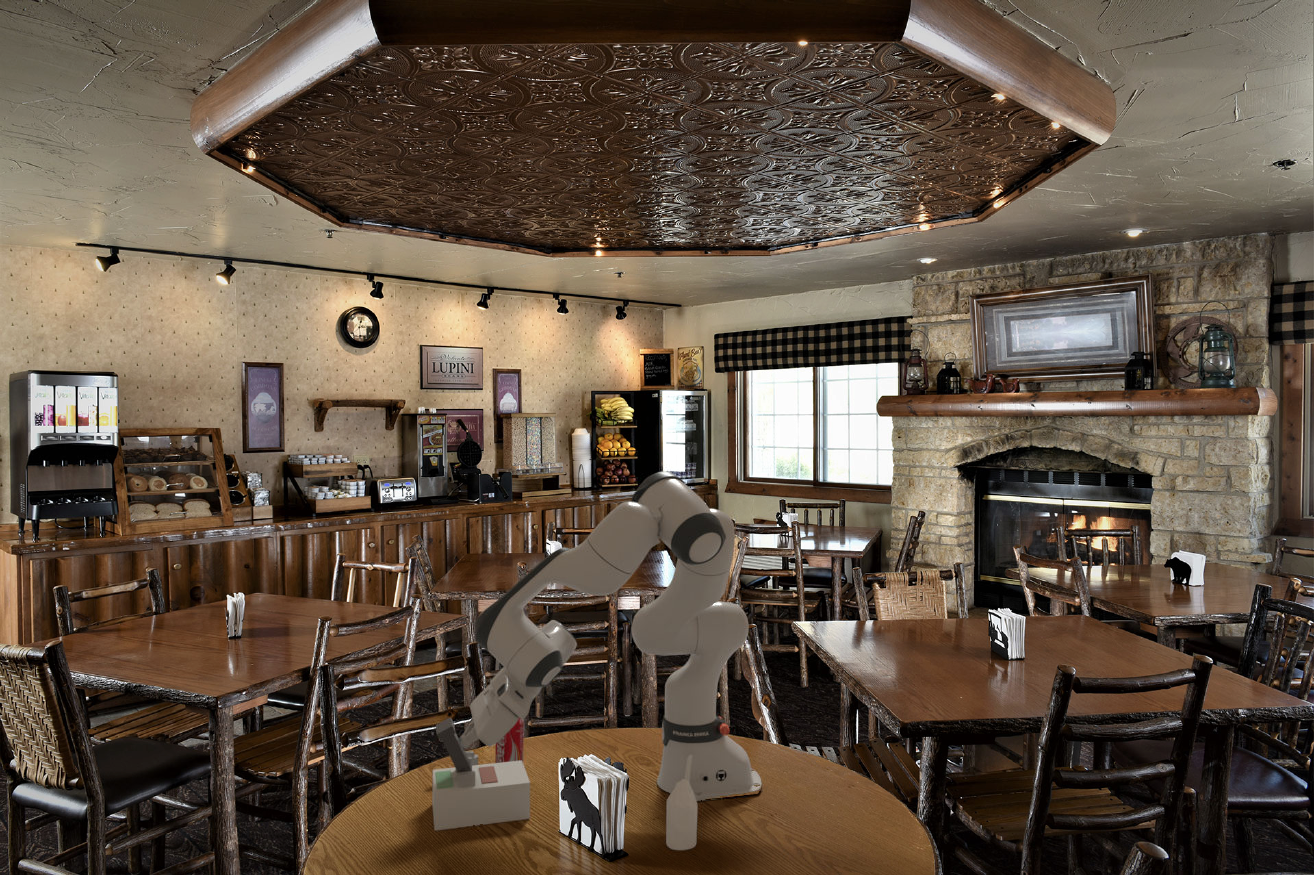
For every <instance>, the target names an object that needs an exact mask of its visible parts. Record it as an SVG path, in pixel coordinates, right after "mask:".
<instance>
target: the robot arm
mask: <svg viewBox="0 0 1314 875" xmlns="http://www.w3.org/2000/svg"><path fill="white" fill-rule="evenodd" d="M735 536H736V534H735V525H734V522H733V520H732V518H731V517H730V516H729V515H728V514H727V513H726V512H724V511H722V510H719V509H717V508H711V507H709V506H708V505H707V504H706V502H705V501H704V499H703V498H702V497H700V496H699V495H698V494H697V493H696V492H695V491H694V490H693V489H691V487H689V486H688V485H687V484H686V483H685V481H684V480H683V479H682V478H680V477H679V476H678V475H676V474H674V473H672V472H670V471H658V472H655V473H653V474H651V475H649V476H647V477H646V478H645V479H644V480H643V481H642V482H641V483H640V485H638V487H637V489H636V491H634V493H633V494H632V497H631V499H630V501H625V502H622V503H620V504H619V505H617V506H616V507H615V508H614V509H613V510H611V511H610V512H609V513H608V514H607V515H606V516H605V517H604V518H602V520H601V521H600V522H599V523H598V524H597V525H596V527H595V528H594V529H593V530H592V531H591V532H590V533H589V535H588V536H587V537H586V538H585V540H583V542H582V543H580V544H579V545H577V546H574V547H572V548H569V547H566V546H564V547H561V548H557V550H555V551H553V552H552V553H549V555H547V556H546V557H545V558H544V559H542V560H541V561H540V562H539V563H538V564H537V565H535V566H534V567H533V568H531V570H529V571H528V573H526V574H525V575H524V576H523V577H522V578H521V579H520V580H519V581H518V582H516V584H514V585H513V586H512V587H511V588H510V589H509V590H508V591H506V592H505V593H504V594H503V595H502V596H501V597H499V598H498V599H497V600H496V601H494V602H493V603H491V605H489V606H487V607H486V608H484V610H482V611H481V613H480V614H479V615H478V617H477V618H476V620H475V621H474V639H475V642H476V643H477V644H478V645H479V646H480V647H482V649H484V650H486V651H487V652H488V653H490V654H491V655H492V656H493V657H494V658H495V659H496V660H497V661H498V662H499V663H500V664H501V666H503V667H502V668H501V669H500V670H499V671H498V672H497V673H496V674H495V676H493V677H492V678H491V680H490V681H489V684H488V685H487V686H486V687H485V688H484V689H483V690H482V691H481V692H480V693H479V694H478V695H477V696H476V697H475V699H473V701H472V702H471V704H470V705H469V707H470V712H471V716H472V720H471V721H470V723H469V724H468V725H467V727H466V729H465V731H464V732H463V733H462V734H461V735H460V736H459V737H458V738H459V740H460V745H461V746H462V747H463V749H464V750H466V749H468V748H469V747H470V746H471V745H472V744H473V743H475V742H476V741H479V740H480V741H481V743H483V744H484V745H486V746H487V747H489V748H491V747H493V746H496V743H497V742H498V741H499V740H500V739H501V738H502V737H504V736H505V735H506V734H507V733H508V731H509V730H510V729H511V728H512V727H513V726H514V725H515V724H516V723H517V721H518V717H519V718H520V719H523V720H524V719H525V718H526V717H527V716H528V714H529V713H530V709H531V705H532V702H533V701H534V699H535V698H536V697H537V696H538V695H539V693H540V692H541V690H542V688H546V687H548V686H549V685H551V683H552V682H553V681H554V680H555V679H556V678H557V676H559V674H561V672H562V671H563V666H564V665H565V664H566V663H567V662H568V660H569V659H570V657H571V656H572V654H573V653H574V651H575V650H576V649H577V646H578V643H577V640H576V638H575V637H574V635H573V634H572V633H571V631H570V630H569V629H567V627H566V626H564V625H563V624H562V623H561V622H560V621H558V620H555V619H551V620H550V621H549V622H547V623H545V625H543V626H542V627H541V628H539V627H538V626H536V624H535V623H534V622H533V621H531V619H530V618H528V616H527V615H526V614H525V610H524V607H525V606H526V605H528V604H529V603H530V602H531V601H532V600H533V599H534V598H535V597H536V596H537V595H538V594H540V593H541V592H542V591H544V589H545V588H546V587H548V586H549V585H550V584H559V585H562V586H565V587H567V588H570V589H572V590H575V591H577V592H580V593H582V594H585V595H590V596H595V597H596V596H598V597H602V596H608V595H611V594H614V593H616V592H617V591H618V590H620V589H621V588H622V587H623V586H624V585H625V584H626V583H627V582H628V581H629V580H630V579H631V577H632V575H633V574H634V573H635V572H636V571H637V570H638V568H639V566H640V565H641V564H642V563H643V561H644V560H645V558H646V557H647V555H648V553H649V552H650V550H651V549H652V548H653V547H655V546H656V545H658V544H660V543H661V542H663V543H664V544H665V545H666V546H667V547H668V548H669V549H670V550H671V552H672V553H673V554H672V555H674V556H675V557H676V558H677V559H676V560H677V561H676V564H675V569H674V573H673V576H672V579H671V581H670V582H669V584H668V586H667V587H666V589H665V590H664V591H663V592H662V593H661V594H660V595H659V596H658V597H656V599H654V600H653V601H652V602H650V603H649V604H646V605H644V606H643V607H640V609H639V610H637V612H636V613H635V616H634V617H633V620H632V624H631V635H632V639H633V642H634V643H635V645H636V647H637V648H638V649H639V651H640V652H642V653H643V654H644V653H645V654H650V655H655V656H656V655H657V656H678V655H682V656H683V655H690V656H689V658H688V661H686V663H685V664H684V665H683V666H682V667H680V668H679V669H677V670H675V671H674V672H673V673H671V674H670V676H669V677H668V678H667V680H666V682H665V685H664V715H663V717H662V724H661V725H662V726H661V735H662V736H661V737H662V738H661V741H662V744H663V751H662V757H661V764H660V768H659V773H658V777H657V780H656V784H657V785H658V787H659V788H660V789H661V790H663V791H665V792H667V793H669V794H671V793H672V791H673V790H674V788H675V786H676V784H677V783H678V782H679V781H681V780H682V779H685V780H688V781H689V782H690V786H691V788H692V790H693V792H694V795H695V798H696V801H697V802H699V801H700V802H701V800H702V801H706V800H705V799H708V798H716V797H720V796H729V795H733V794H743V793H748V792H755V791H757V790H759V789H760V788H761V785H762V786H763V784H762V783H763V782H761V781H762V779H761V776H760V774H759V773H758V772H757V771H756V770H755V769H754V768H752V765H751V762H750V758H749V755H748V753H747V752H746V751H745V749H744V748H743V747H742V746H741V745H740V744H739V743H737V742H736V741H734V740H733V739H732V738H730V737H729V736H728V735H729V734H730V731H731V730H730V728H729V725H728V724H727V723H726V721H725V720H724V719H723V718H722V717H721V716H720V715H719V716H718V715H717V693H718V683H719V680H720V676H721V673H722V671H723V668H724V667H725V665H726V663H727V662H728V660H729V659H730V658H731V656H732V655H733V654H734V653H735V652H736V651H737V650H738V649H740V648H741V647H742V646H743V645H744V644H745V642H746V640H747V638H748V634H749V628H750V625H749V621H748V617H747V615H746V612H745V611H744V609H743V608H742V607H741V606H740V605H739V604H737V603H732V602H726V601H720V600H721V598H722V597H724V594H725V592H726V590H727V584H728V581H729V577H730V573H731V567H732V564H733V563H732V562H733V559H734V558H733V557H734V552H735V539H736V538H735ZM660 540H661V541H660ZM751 770H754V771H751ZM754 785H760V786H757V787H756V786H754Z"/></svg>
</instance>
